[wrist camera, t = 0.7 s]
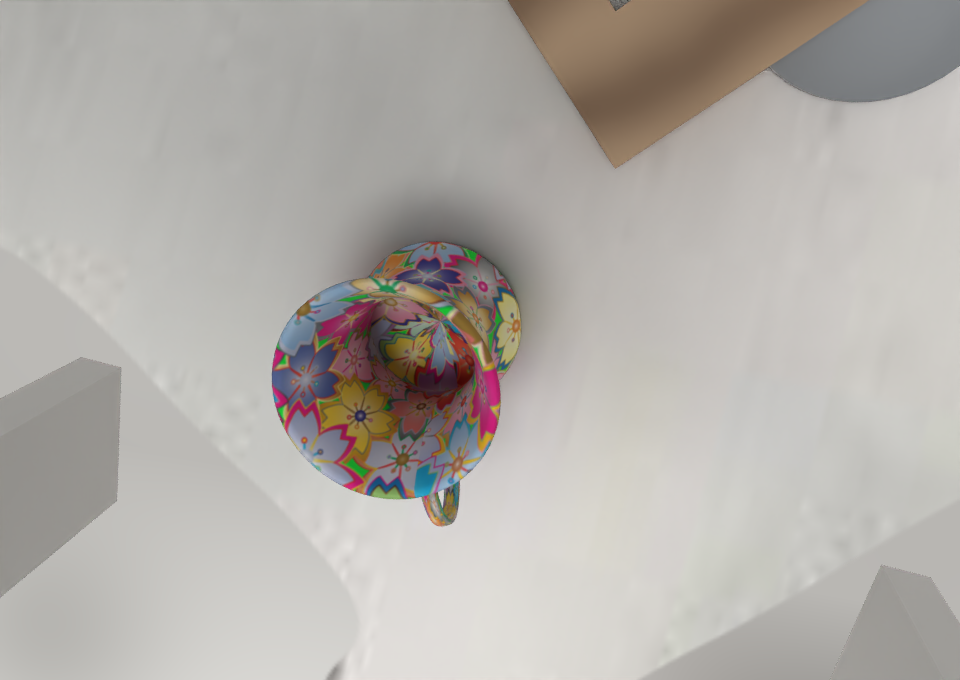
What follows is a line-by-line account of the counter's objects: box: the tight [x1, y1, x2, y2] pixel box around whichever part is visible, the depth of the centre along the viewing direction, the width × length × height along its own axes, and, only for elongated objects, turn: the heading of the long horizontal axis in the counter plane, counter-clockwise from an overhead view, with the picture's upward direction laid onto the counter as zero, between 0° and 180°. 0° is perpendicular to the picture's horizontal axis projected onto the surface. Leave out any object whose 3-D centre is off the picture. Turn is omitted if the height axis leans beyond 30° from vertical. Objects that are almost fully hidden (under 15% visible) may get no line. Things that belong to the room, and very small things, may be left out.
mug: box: [272, 242, 521, 526], centre depth 35 cm, size 12×9×11 cm
